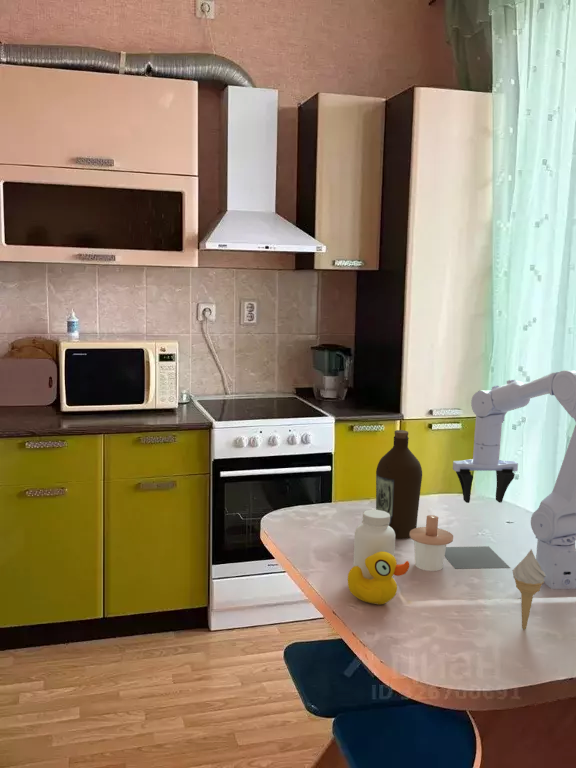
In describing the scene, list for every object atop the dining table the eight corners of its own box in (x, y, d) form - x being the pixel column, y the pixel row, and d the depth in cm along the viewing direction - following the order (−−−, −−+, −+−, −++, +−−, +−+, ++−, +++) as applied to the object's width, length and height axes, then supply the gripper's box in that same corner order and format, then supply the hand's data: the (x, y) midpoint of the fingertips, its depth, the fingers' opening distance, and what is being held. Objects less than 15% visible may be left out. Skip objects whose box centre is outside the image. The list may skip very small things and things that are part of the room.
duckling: (408, 601, 143) (411, 550, 141) (405, 613, 138) (408, 561, 136) (349, 592, 146) (352, 543, 144) (344, 604, 141) (346, 553, 139)
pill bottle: (395, 581, 152) (399, 509, 149) (389, 597, 144) (393, 522, 142) (356, 575, 154) (359, 505, 151) (348, 591, 146) (352, 517, 144)
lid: (459, 545, 153) (460, 524, 153) (416, 545, 152) (417, 524, 152) (445, 529, 162) (446, 509, 161) (404, 529, 161) (405, 510, 160)
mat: (510, 571, 158) (510, 567, 158) (454, 572, 157) (455, 568, 157) (488, 549, 170) (488, 546, 170) (437, 550, 169) (437, 547, 169)
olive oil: (401, 524, 185) (407, 425, 181) (427, 539, 175) (434, 434, 171) (364, 530, 180) (369, 428, 176) (389, 545, 171) (395, 438, 167)
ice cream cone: (501, 628, 133) (508, 548, 131) (517, 619, 137) (524, 540, 134) (530, 640, 129) (538, 557, 127) (546, 630, 133) (554, 549, 131)
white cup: (443, 563, 161) (445, 532, 160) (447, 576, 155) (449, 544, 154) (411, 561, 162) (413, 530, 161) (413, 574, 155) (415, 542, 154)
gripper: (510, 439, 174) (506, 495, 176) (450, 438, 172) (446, 496, 174) (523, 446, 167) (518, 505, 169) (460, 446, 165) (456, 505, 167)
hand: (482, 501), depth 171 cm, fingers open, 7 cm apart
